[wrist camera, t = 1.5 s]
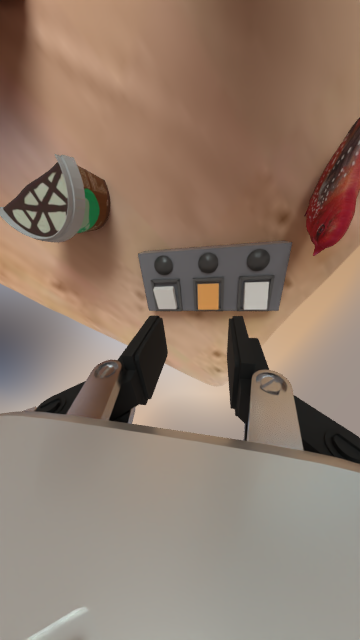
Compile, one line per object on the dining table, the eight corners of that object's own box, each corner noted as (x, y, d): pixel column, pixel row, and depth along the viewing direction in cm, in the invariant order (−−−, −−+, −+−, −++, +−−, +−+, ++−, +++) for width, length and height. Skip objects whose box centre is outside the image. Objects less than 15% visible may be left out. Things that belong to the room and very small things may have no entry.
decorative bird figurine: (278, 245, 26) (309, 256, 17) (366, 51, 17) (524, -130, 8) (298, 249, 26) (338, 263, 17) (398, 56, 16) (593, -124, 8)
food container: (78, 248, 32) (27, 258, 23) (56, 213, 30) (-10, 209, 21) (132, 219, 28) (94, 218, 19) (112, 175, 25) (58, 150, 17)
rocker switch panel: (144, 251, 30) (136, 254, 27) (284, 240, 25) (293, 242, 22) (154, 304, 35) (147, 312, 32) (273, 303, 30) (279, 312, 27)
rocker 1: (154, 286, 28) (153, 289, 27) (173, 286, 27) (172, 289, 27) (159, 305, 31) (158, 309, 30) (177, 305, 30) (176, 309, 29)
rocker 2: (244, 282, 26) (245, 282, 25) (267, 281, 25) (269, 281, 25) (243, 308, 27) (244, 309, 26) (265, 308, 26) (266, 309, 25)
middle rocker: (198, 283, 27) (197, 284, 27) (218, 283, 27) (218, 283, 26) (198, 308, 28) (198, 309, 28) (218, 308, 28) (218, 309, 27)
